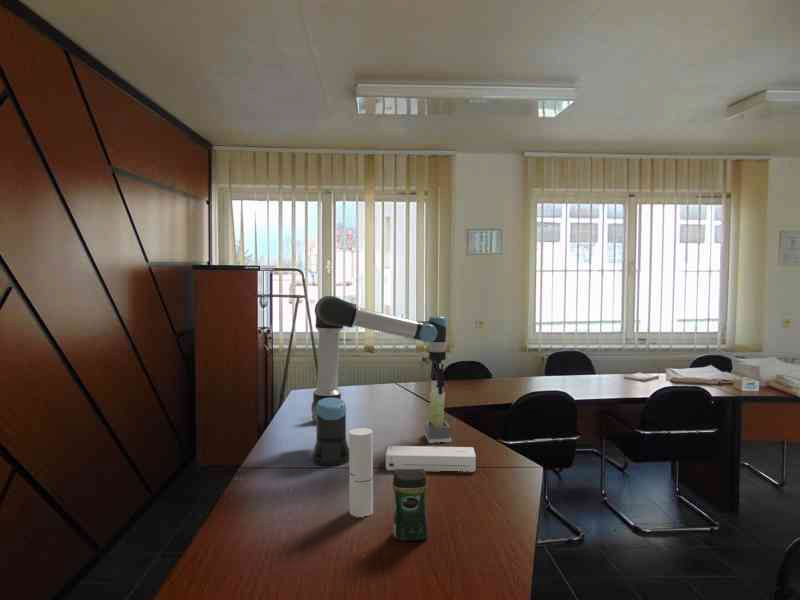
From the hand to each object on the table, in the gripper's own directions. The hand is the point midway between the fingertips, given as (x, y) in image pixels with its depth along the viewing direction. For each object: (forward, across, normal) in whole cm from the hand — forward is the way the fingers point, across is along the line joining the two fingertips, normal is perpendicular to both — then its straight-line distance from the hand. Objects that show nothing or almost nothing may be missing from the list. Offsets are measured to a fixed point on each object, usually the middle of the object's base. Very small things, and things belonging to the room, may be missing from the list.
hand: (436, 398), depth 227 cm
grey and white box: (+18, 0, 0) cm, 18 cm away
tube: (+17, 0, 0) cm, 17 cm away
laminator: (+19, -33, +9) cm, 39 cm away
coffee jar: (+19, -85, +24) cm, 90 cm away
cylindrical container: (+19, -69, +36) cm, 80 cm away
